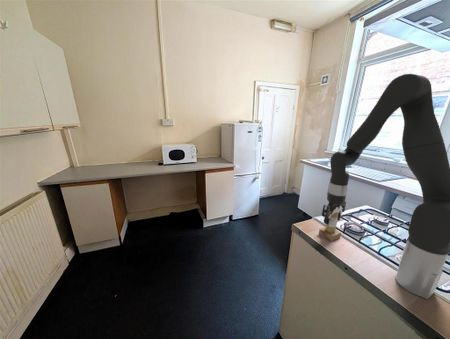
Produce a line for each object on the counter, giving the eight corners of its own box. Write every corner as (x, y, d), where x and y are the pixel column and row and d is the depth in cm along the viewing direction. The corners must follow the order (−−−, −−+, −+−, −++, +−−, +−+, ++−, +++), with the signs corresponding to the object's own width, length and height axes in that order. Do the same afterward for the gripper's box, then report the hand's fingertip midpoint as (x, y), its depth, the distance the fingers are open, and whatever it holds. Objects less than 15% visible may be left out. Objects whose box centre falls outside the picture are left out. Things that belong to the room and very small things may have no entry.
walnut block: (340, 237, 91) (341, 232, 90) (331, 241, 88) (332, 236, 87) (327, 230, 97) (328, 225, 96) (318, 233, 94) (319, 228, 93)
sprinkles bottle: (327, 226, 94) (331, 203, 91) (336, 230, 91) (341, 207, 87) (323, 230, 92) (327, 206, 88) (333, 234, 88) (337, 210, 85)
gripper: (335, 197, 79) (329, 229, 84) (354, 192, 85) (348, 222, 90) (320, 192, 86) (315, 221, 90) (338, 187, 92) (333, 215, 96)
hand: (331, 221), depth 90 cm, fingers open, 8 cm apart
